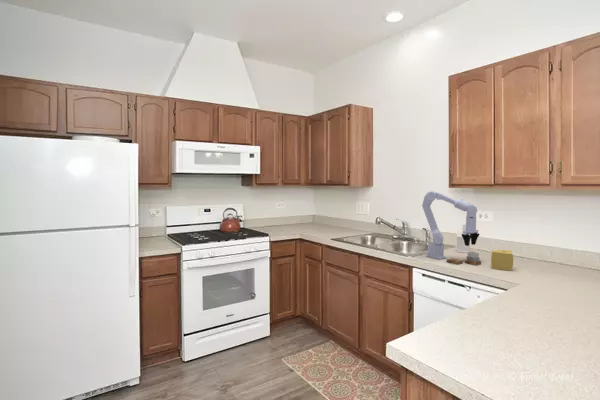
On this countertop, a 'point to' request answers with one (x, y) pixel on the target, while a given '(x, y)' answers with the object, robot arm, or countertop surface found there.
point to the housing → (473, 256)
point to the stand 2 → (472, 262)
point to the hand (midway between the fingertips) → (470, 245)
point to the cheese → (502, 260)
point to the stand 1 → (454, 261)
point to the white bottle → (462, 242)
